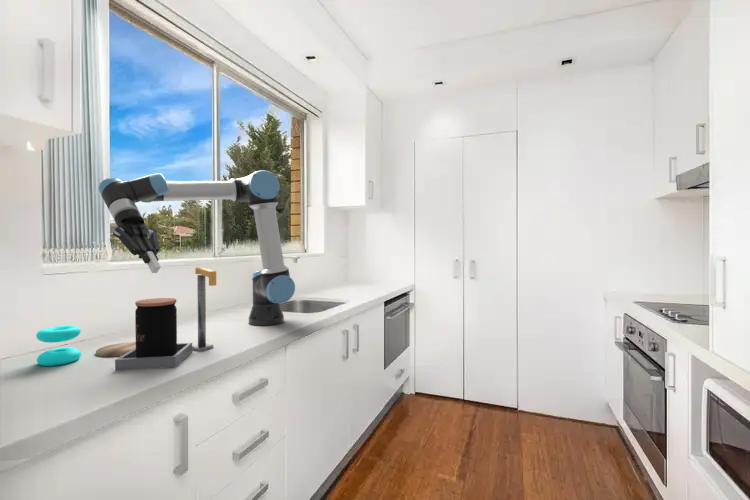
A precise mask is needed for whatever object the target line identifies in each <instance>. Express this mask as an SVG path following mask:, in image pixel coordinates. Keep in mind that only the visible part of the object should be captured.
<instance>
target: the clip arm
mask: <svg viewBox="0 0 750 500" xmlns="http://www.w3.org/2000/svg"><path fill="white" fill-rule="evenodd" d="M194 269H195V274H196V275H204V276H205V278H208V286H211V287H212V286H213V287H214V286H217V270H214V269H210V268H208V267H206V266H205V267H204V266H203V267H199V266H198V267H195V268H194Z"/></svg>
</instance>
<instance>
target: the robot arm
mask: <svg viewBox="0 0 750 500" xmlns="http://www.w3.org/2000/svg"><path fill="white" fill-rule="evenodd" d="M280 187H281V185H280V181H279V179H278V177H277V176H276V175H275V173H273V172H271V171H269V170H264V169H261V170H256V171H253V172H252V173H250V174H249V175H247V176H244V177H239V178H238V177H237V178H230V179H229V180H223V181H222V180H220V181H219V180H213V181H212V180H209V181H208V180H202V181H201V180H199V181H197V180H192V181H191V180H190V181H187V180H185V181H184V180H183V181H182V180H181V181H179V180H177V181H175V180H174V181H173V180H172V181H171V180H166V178H165V177H164V175H163V174H162V173H159V172H157V173H153V174H149V175H148V174H147V175H145V176H142V177H138V178H134V179H131V180H125V181H122V180H121V179H119V178H117V177H114V178H113V177H107V178H105V179H103V180H102V181H101V182H100V183H99V185H98V191H99V193H100V195H101V198H102V200H103V202H104V204H105V205H106V207H107V209H108V211H109V213H110V214H111V216H112V219H113V220H114V223H115V224H116V226H117V227H115V229H114V230H113V233H112V235H113V237H116V238H117V239H118V240H119V241H120V242H121V243H122V244H123V245H124V246H125V248H126V249H127V250H128V251H129V252H130V253H131V254H132V256H138V259H142V261H143V263H145V264H146V265H147V266H148V268H149V270H150V272H151V274H157V273H158V272H159V270H160V269H161V267H162V266H161V265H160V263H159V260H160V259H159V257H158V256H157V255H158V253H159V252H160V251H161V249H160V248H161V247H160V245H159V239H158V235H157V234H158V233H159V231H158V230H157V229H154V230H152V229H149V226H147V225H146V224H145V220H144V217H143V215H142V214H141V211H140V210H139V208H138V206H137V205H136V203H139V202H142V203H147V204H148V203H152V202H176V201H177V202H178V201H179V202H180V201H207V200H208V201H209V200H210V201H213V200H214V201H215V200H216V201H217V200H218V201H219V200H230V201H232V202H244V203H248V207H249V208H250V209H252V211H253V216H254V220H255V221H254V222H255V226H256V234H257V239H258V246H259V251H260V258H261V264H262V269H261V270H257V271H254V272H253V273H252V278H251V280H252V307H251V310H250V314H249V316H248V325H250V326H251V325H253V326H273V325H274V326H275V325H278V324H282V323H284V322H285V317H284V316H285V315H284V313H283V310H282V307H281V304H284V303H287V302H288V301H290V300H291V299H292V298H293V296H294V294H295V293H296V292H295V291H296V284H295V281H294V280H293V278H292V277H291V276H290V270H289V267H287V266H286V265H285V261H284V255H283V248H282V242H281V237H280V230H279V224H278V216H277V212H276V210H277V209H276V207H277V206H278V204H279V196H278V194H279V191H280Z"/></svg>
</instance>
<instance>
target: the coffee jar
mask: <svg viewBox="0 0 750 500" xmlns="http://www.w3.org/2000/svg"><path fill="white" fill-rule="evenodd" d="M176 303H177V299H176V298H171V297H161V298H158V297H157V298H145V299H141V300H136V301H135V303H134V304H135V307H137V308H136V309H135V311H134V312H135V318H134V321H135V322H134V325H135V342H136V358H142V357H162V356H174V355H175V354H176V353H177V343H178V332H177V331H178V329H177V328H178V325H177V323H178V322H177V319H178V313H177V312H178V311H177V306H176V305H175V304H176Z"/></svg>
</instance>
